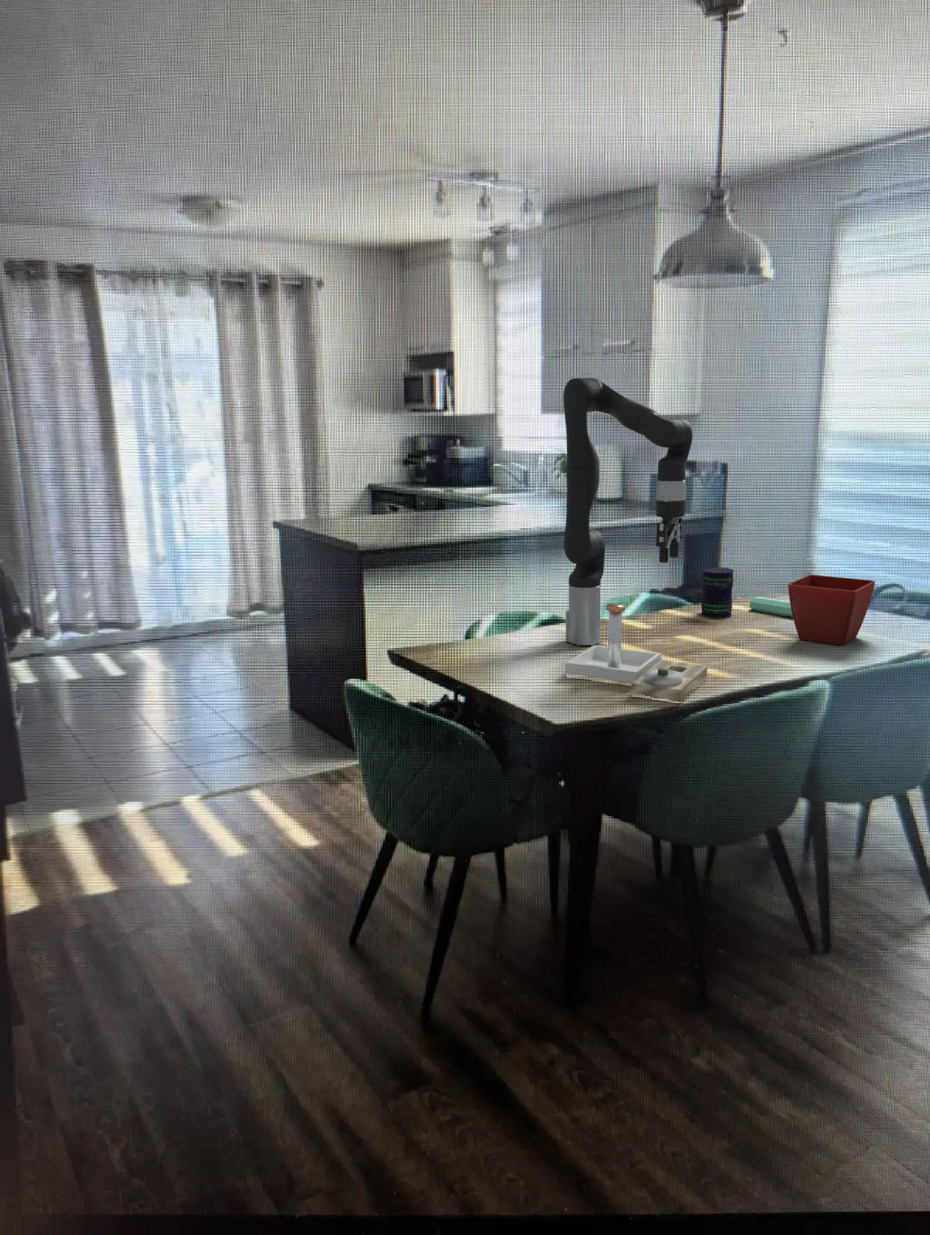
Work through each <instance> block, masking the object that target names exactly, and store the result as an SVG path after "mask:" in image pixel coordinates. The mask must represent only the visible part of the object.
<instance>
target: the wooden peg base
mask: <svg viewBox="0 0 930 1235" xmlns="http://www.w3.org/2000/svg"><path fill="white" fill-rule="evenodd" d="M706 679H707V680H708V665H702V664H695V663H687V662H680V661H678V662H677V661H672V660H671V661H670V660H662V659H661V661H660V662H658V663H657V664H656V665H654V666H653V667H652V668H651V669H649V670H648V671H646V672H644V674H643V675H641V676H640V677H639V678H638V679H636V680H635V681H634V682H632V685H631V687H630V688H631V690H630V693H633V694H642V695H645V696H650V697H654V698H662V699H668V700H671V701H678V702H681V701H683V700H684V699H685V698H686V697H687V696H688V695H689V694H690V693H691V692H692V691H694V689H695V688H696V687H697V686H698V685H699V684H701V683H702V682H703V681H705V680H706ZM707 680H706V681H707ZM703 683H704V682H703ZM703 683H702V684H703ZM702 684H701V685H702ZM694 692H695V691H694ZM686 699H687V698H686ZM686 699H685V700H686ZM685 700H684V701H685ZM684 701H683V702H684Z"/></svg>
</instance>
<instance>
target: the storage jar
mask: <svg viewBox="0 0 930 1235" xmlns="http://www.w3.org/2000/svg"><path fill="white" fill-rule="evenodd" d="M734 571H735V570H734V569H732V568H729V567H719V566H718V567H705V568H703V569H702V576H701V577H702V579H701V581H702V583H701V585H702V598H701V603H700V604H701V605H700V607H701V608H700V609H701V614H700V616H702V617H705V618H709V619H728V618H730V617H732V611H733V610H732V609H733V595H732V594H733V587H734V580H735V579H734Z"/></svg>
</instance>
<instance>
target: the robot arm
mask: <svg viewBox="0 0 930 1235" xmlns="http://www.w3.org/2000/svg"><path fill="white" fill-rule="evenodd" d="M562 398H563V399H562V400H563V412H564V422H565V434H566V437H565V438H566V439H565V440H566V441H565V442H566V517H565V528H564V536H563V550H564V554H565V556H566V559H568V561H569V562H570V563H572V564H575V567H574V569H573V570H572V572H571V573H570V575H569V576H568V609H567V610H565V611H566V612H565V643H566V642H570V643H574V644H578V645H577V646H579V645H591V646H593V645H592V644H596V645H598V644H597V643H599V644H600V643H601V590H602V588H601V584H602V583H601V582H602V577H603V576H604V572H605V571H604V569H605V556H606V555H605V554H606V553H605V552H606V550H605V548H606V545H605V539H604V537H603V535H602V533H600V532H599V530H597V529H594V528H590V515H591V511H592V507H593V505H594V501H595V499H596V496H597V493H598V491H599V486H600V476H601V475H600V459H599V458H600V457H599V455H598V452H597V449H596V448H595V445H594V443H593V441H592V439H591V436H590V434H589V430H588V413H592V412H598V413H603V414H607V415H610V416H612V417H614V418H615V419H616V420H617V421H618V422H619V423H620V424H621V425H622V426H624V427H625V428H627V429H628V430H630V431H632V432H635V433H637V434H640V435H642V436H644V438H646V439H647V440H648V441H650V442H651V443H652V444H654V445H656V446H657V447H660V448H666V449H667V453H666V454H665V455H664V456H663V457H661V458H660V459H659V460H658V463H657V482H656V489H655V515H656V517H658V518H661V523H660V522H659V523H657V524H656V536H655V537H656V538H655V539H656V540H655V541H656V542H655V547H658V548H659V550H658V551H659V554H658V557H659V558H658V560H659V563H663V564H665V563H666V564H667V563H668V562H669V557H670V558H678V557H679V551H680V546H679V545H680V543H681V541H682V539H683V522H684V521H683V517H685V515H686V503H687V502H686V501H687V500H686V496H687V487H686V486H687V485H686V465H687V461H688V458H689V455H690V451H691V448H692V443H693V437H694V435H693V428H692V426H691V424H690V423H689V421H688V420H686V419H683V418H675V419H673V418H671V419H666V418H664V417H662V415H661V414H660V413H659V411H657V410H655V409H653V408H650V407H648V406H646V405H644V404H641V403H639V402H637V401H634V400H632V399H630V398H627V397H625V396H624V395H623V394H621V393H619V392H617V391H615V390H614V389H613V388H612V387H610V386H609V385H608V384H606V383H604V382H603V381H602V380H599V379H598V378H594V377H575V378H571V379H569V380H568V381H567V382H566V384H565V386H564V390H563V397H562ZM570 643H569V644H570Z"/></svg>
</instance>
